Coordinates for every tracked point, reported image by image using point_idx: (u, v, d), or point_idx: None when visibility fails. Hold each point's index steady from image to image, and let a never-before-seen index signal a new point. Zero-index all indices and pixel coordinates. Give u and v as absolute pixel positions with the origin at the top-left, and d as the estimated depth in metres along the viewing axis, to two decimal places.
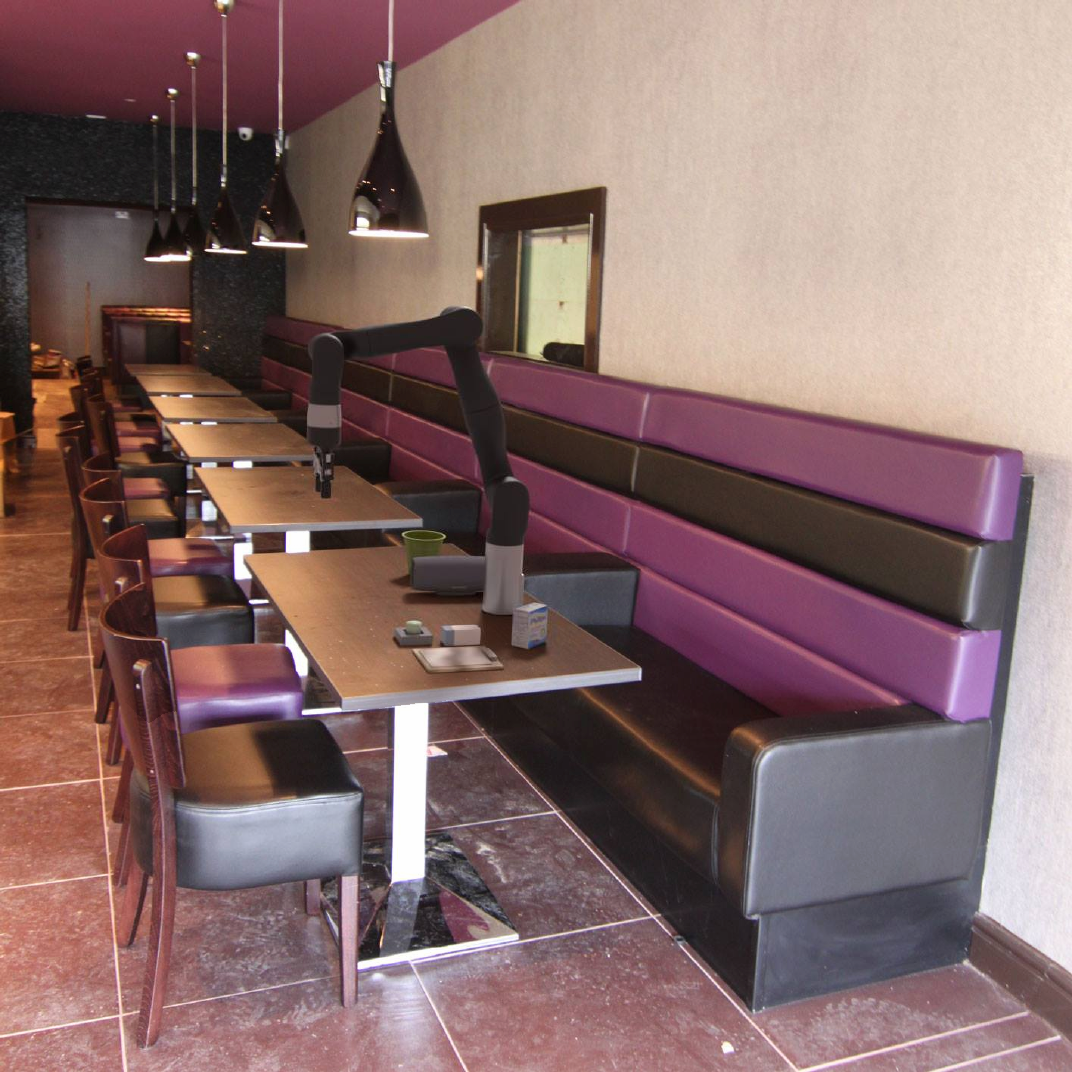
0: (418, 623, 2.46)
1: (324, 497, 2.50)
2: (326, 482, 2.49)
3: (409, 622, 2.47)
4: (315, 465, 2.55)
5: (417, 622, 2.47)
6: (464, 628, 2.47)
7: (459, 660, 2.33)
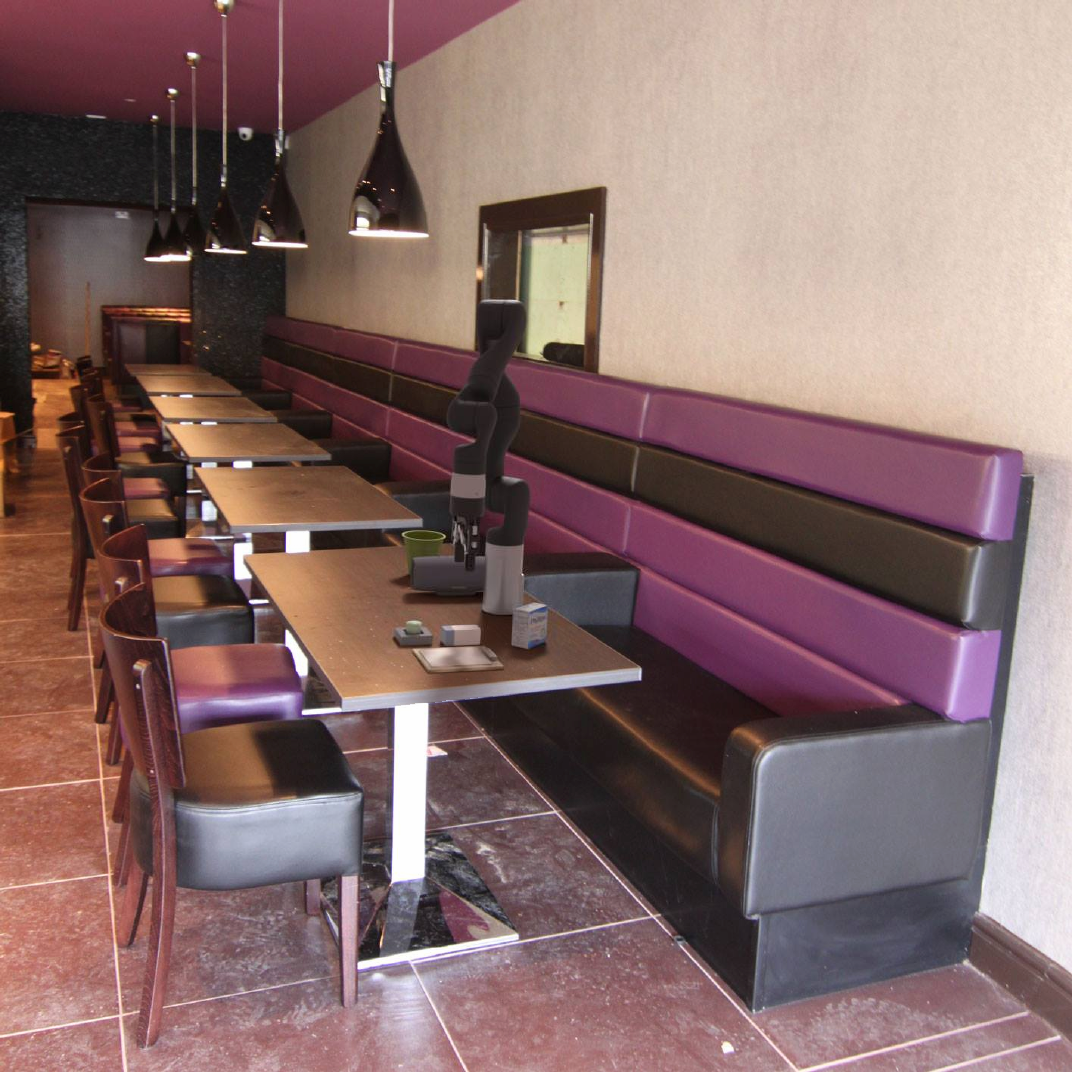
0: (418, 623, 2.46)
1: (468, 570, 2.40)
2: (471, 555, 2.39)
3: (409, 622, 2.47)
4: (456, 535, 2.45)
5: (417, 622, 2.47)
6: (464, 628, 2.47)
7: (459, 660, 2.33)
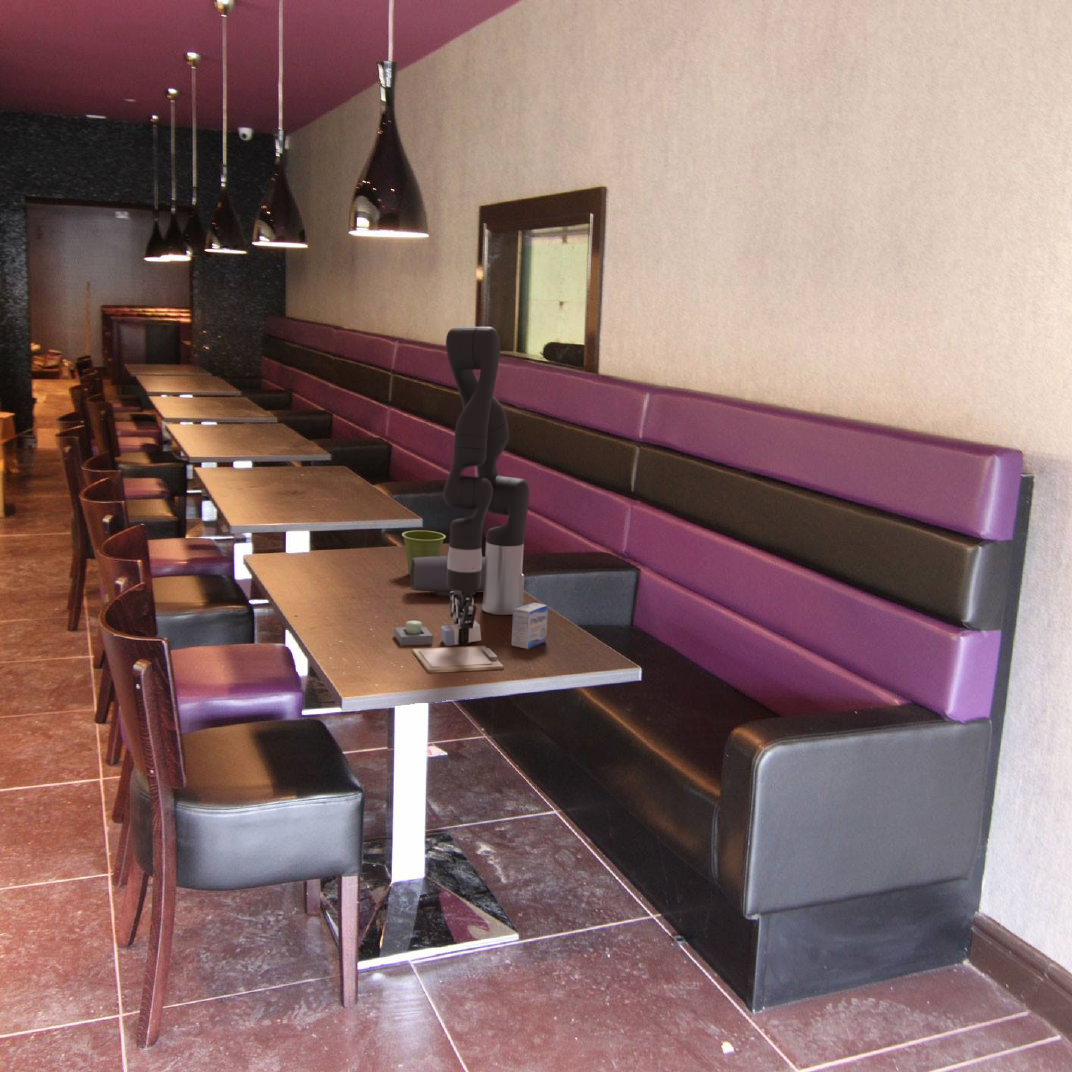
0: (418, 623, 2.46)
1: (462, 644, 2.46)
2: (464, 629, 2.44)
3: (409, 622, 2.47)
4: (454, 609, 2.47)
5: (417, 622, 2.47)
6: None
7: (459, 660, 2.33)
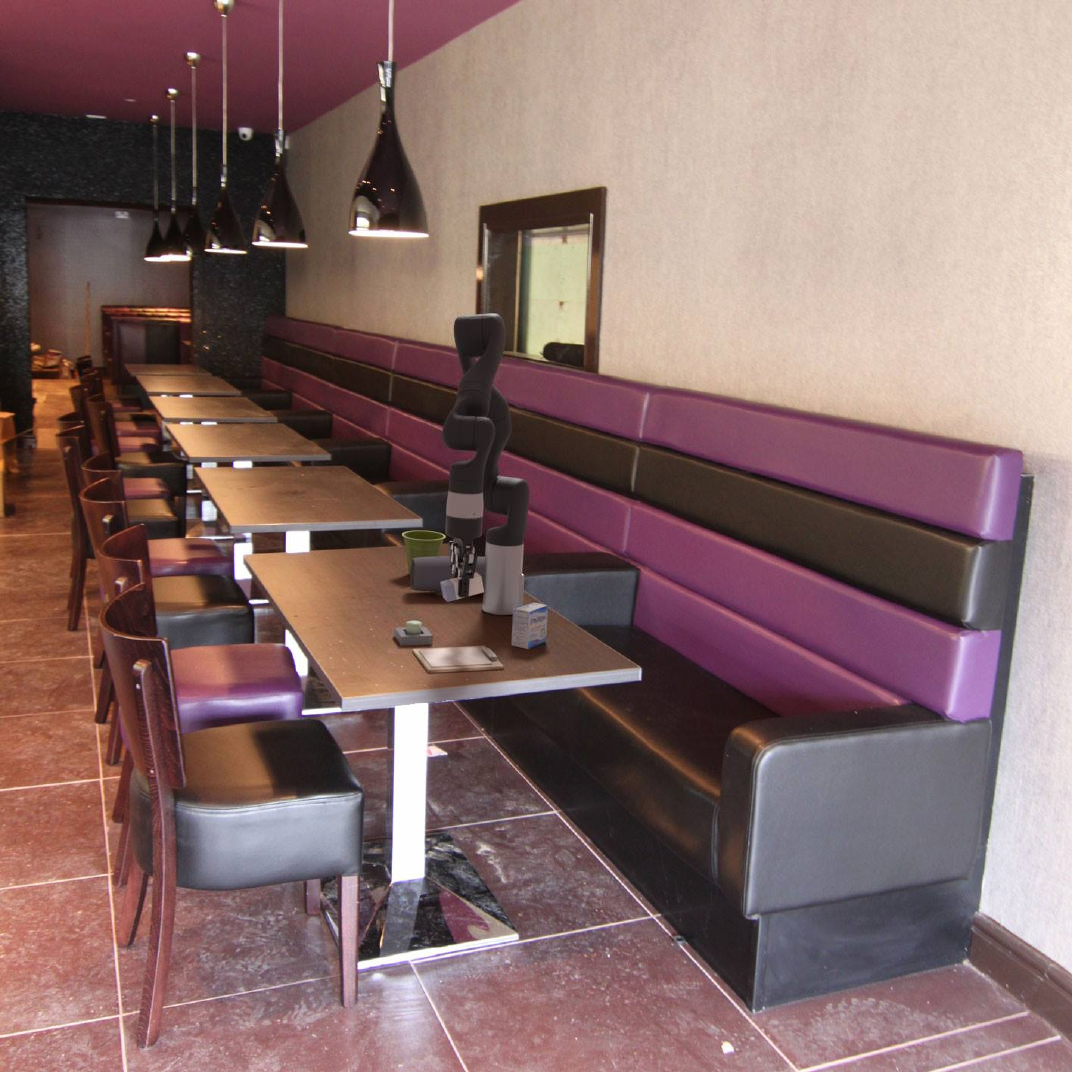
0: (418, 623, 2.46)
1: (462, 596, 2.30)
2: (465, 580, 2.29)
3: (409, 622, 2.47)
4: (453, 559, 2.32)
5: (417, 622, 2.47)
6: None
7: (459, 660, 2.33)
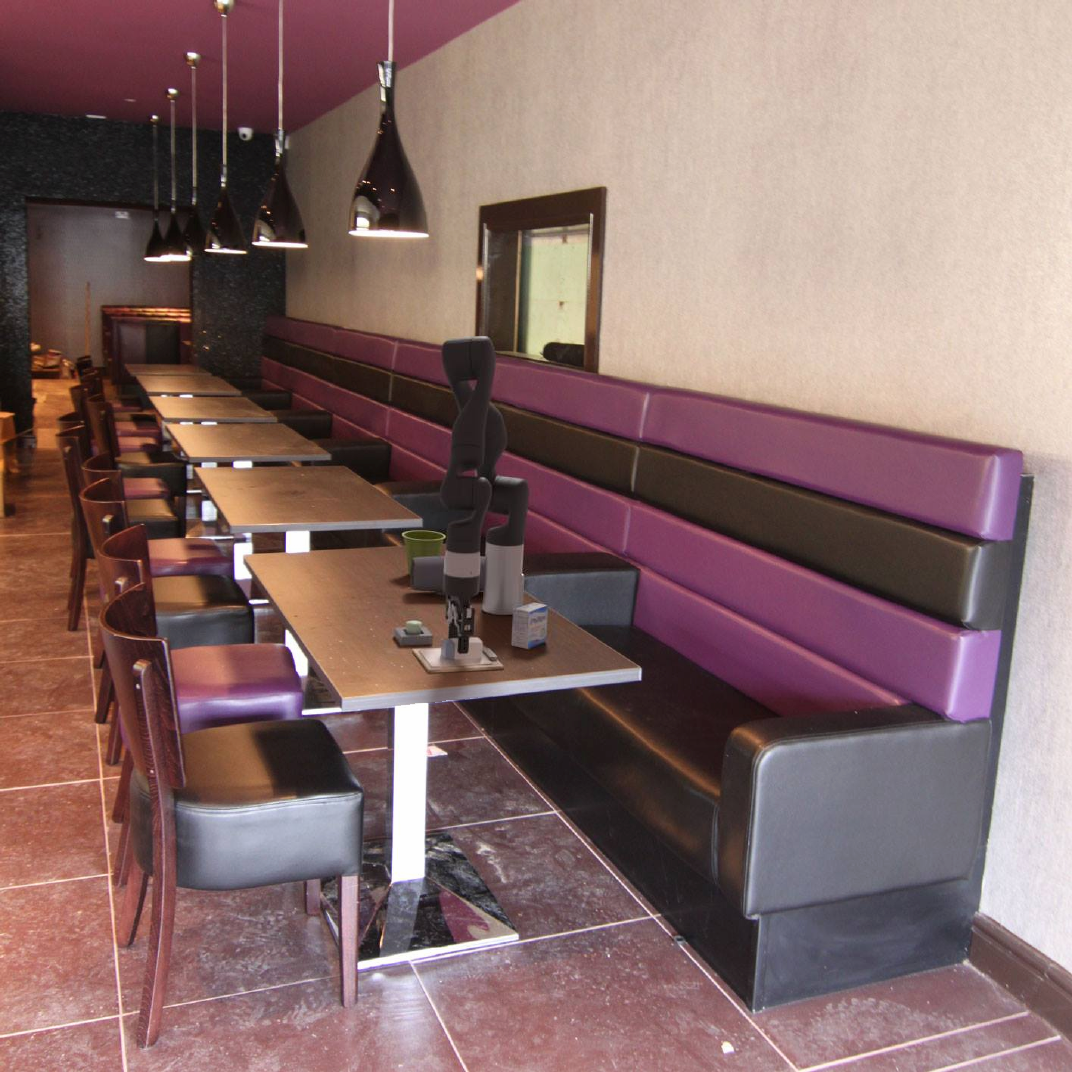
0: (418, 623, 2.46)
1: (461, 652, 2.31)
2: (464, 637, 2.30)
3: (409, 622, 2.47)
4: (450, 614, 2.35)
5: (417, 622, 2.47)
6: None
7: (459, 660, 2.33)
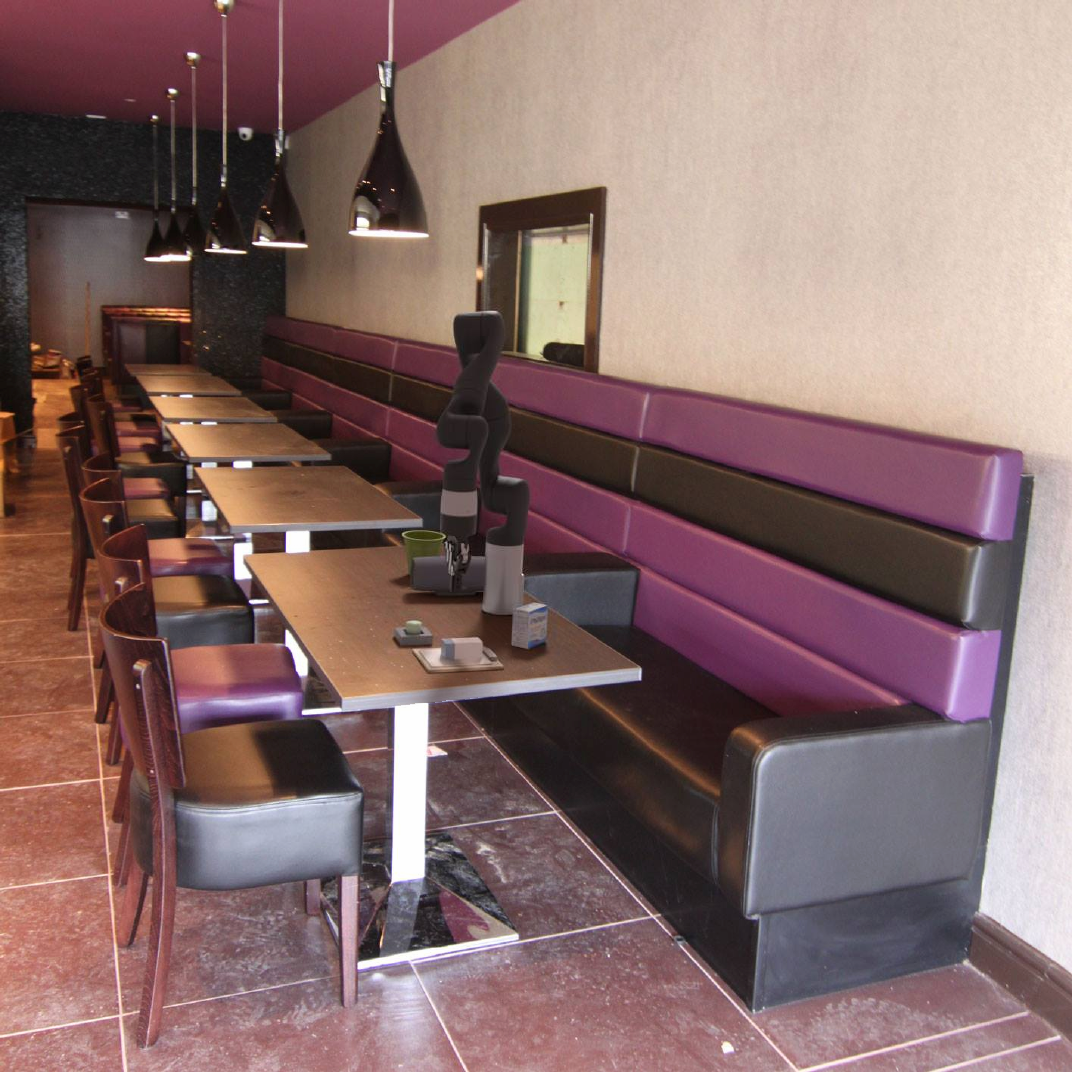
0: (418, 623, 2.46)
1: (454, 591, 2.34)
2: (457, 576, 2.33)
3: (409, 622, 2.47)
4: (449, 557, 2.34)
5: (417, 622, 2.47)
6: (465, 641, 2.35)
7: (459, 660, 2.33)
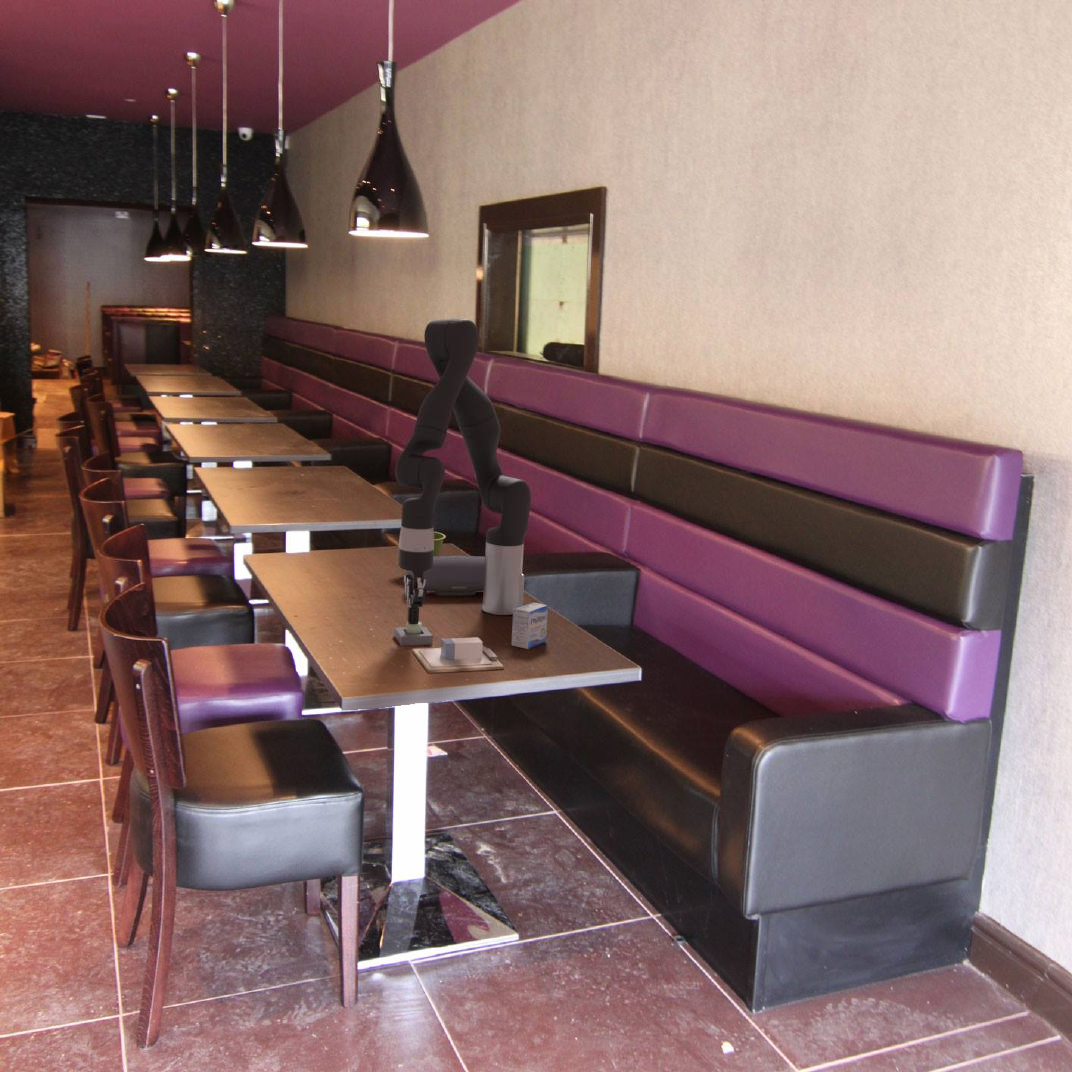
0: (418, 623, 2.46)
1: (412, 623, 2.46)
2: (414, 608, 2.44)
3: None
4: None
5: None
6: (465, 641, 2.35)
7: (459, 660, 2.33)
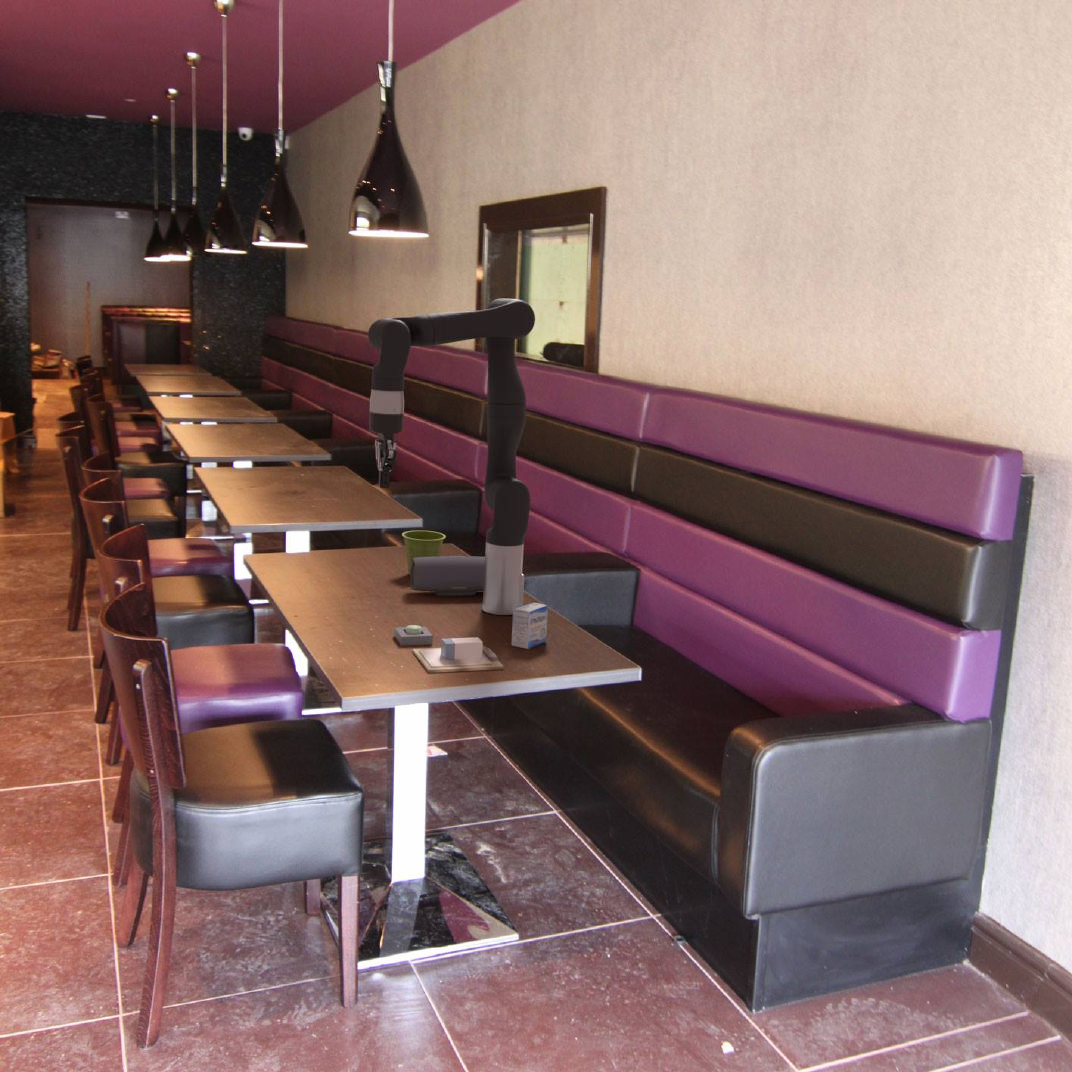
0: (418, 628, 2.47)
1: (383, 487, 2.50)
2: (385, 472, 2.49)
3: (409, 627, 2.47)
4: (378, 454, 2.50)
5: (417, 627, 2.47)
6: (465, 641, 2.35)
7: (459, 660, 2.33)
